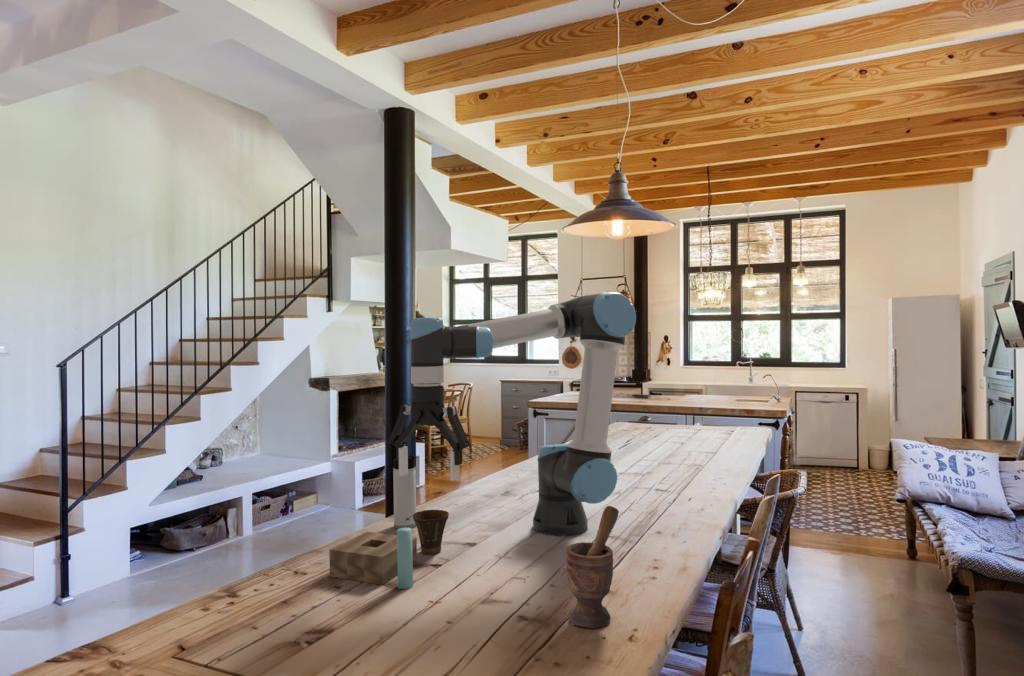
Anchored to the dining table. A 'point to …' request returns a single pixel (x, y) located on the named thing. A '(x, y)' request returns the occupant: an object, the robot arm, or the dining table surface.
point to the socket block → (368, 558)
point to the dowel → (404, 558)
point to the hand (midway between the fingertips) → (428, 477)
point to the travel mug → (404, 495)
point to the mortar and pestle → (592, 574)
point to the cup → (430, 529)
